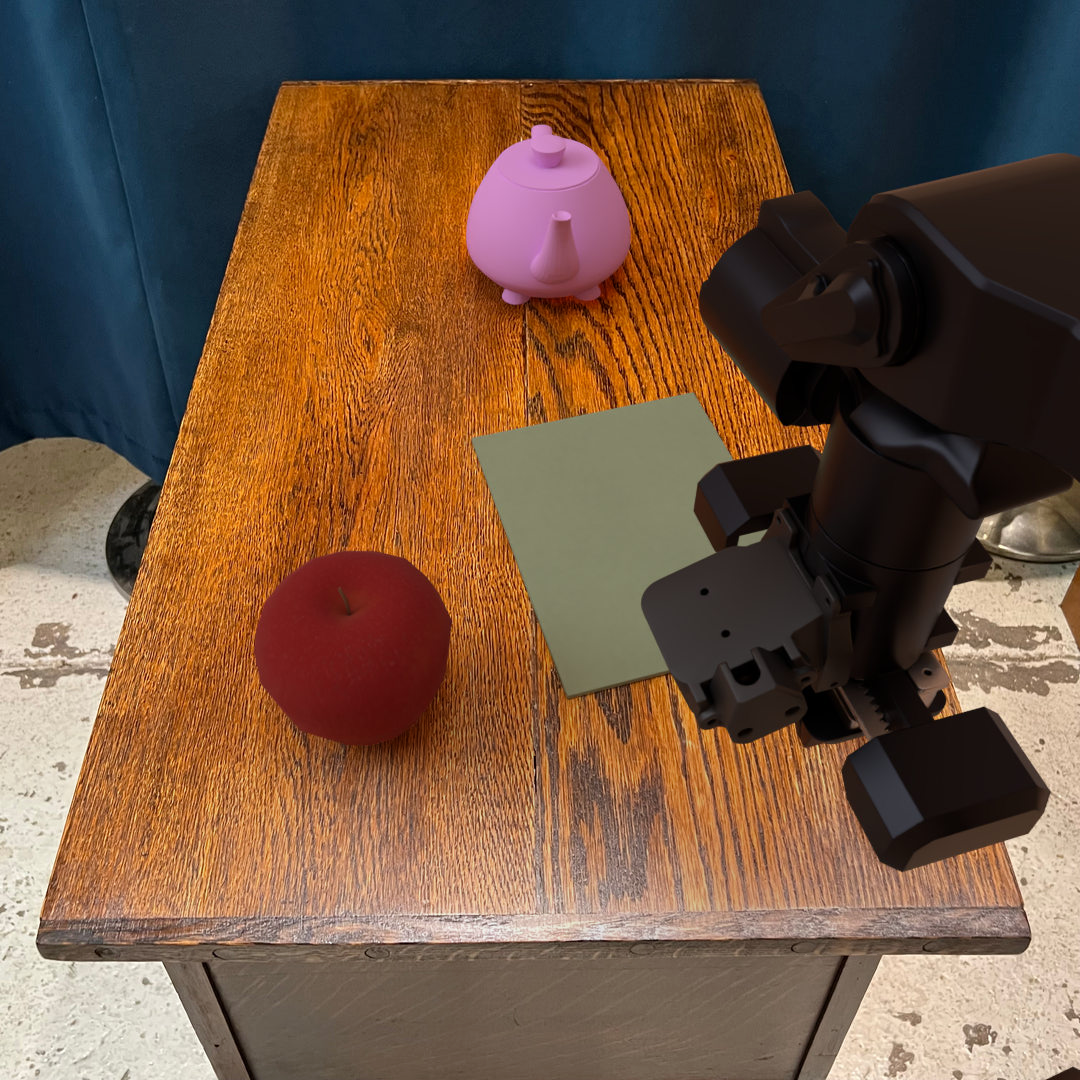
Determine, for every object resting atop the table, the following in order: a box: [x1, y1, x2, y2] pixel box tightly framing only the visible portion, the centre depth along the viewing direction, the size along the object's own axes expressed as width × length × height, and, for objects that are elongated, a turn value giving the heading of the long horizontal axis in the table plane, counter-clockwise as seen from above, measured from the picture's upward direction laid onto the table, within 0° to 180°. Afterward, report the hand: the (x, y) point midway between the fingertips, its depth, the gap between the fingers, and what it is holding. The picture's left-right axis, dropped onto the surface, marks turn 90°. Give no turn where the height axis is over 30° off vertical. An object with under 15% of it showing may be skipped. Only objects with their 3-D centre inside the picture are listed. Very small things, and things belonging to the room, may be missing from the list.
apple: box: [253, 550, 453, 747], centre depth 61 cm, size 11×11×12 cm
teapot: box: [465, 124, 632, 305], centre depth 90 cm, size 20×14×12 cm
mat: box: [470, 391, 767, 700], centre depth 75 cm, size 24×18×1 cm
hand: (810, 739), depth 49 cm, fingers closed
